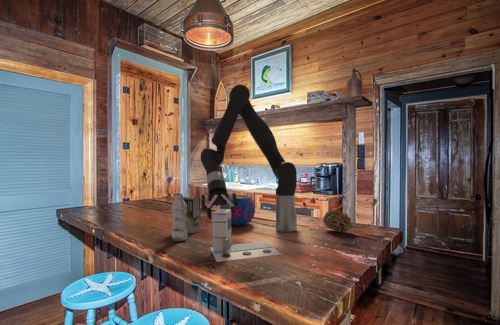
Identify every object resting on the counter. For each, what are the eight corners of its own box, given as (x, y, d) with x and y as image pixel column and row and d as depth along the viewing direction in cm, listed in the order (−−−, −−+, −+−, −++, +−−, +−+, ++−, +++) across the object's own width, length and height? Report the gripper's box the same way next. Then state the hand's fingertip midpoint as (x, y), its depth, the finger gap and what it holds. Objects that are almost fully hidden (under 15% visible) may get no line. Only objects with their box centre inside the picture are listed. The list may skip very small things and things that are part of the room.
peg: (229, 254, 92) (229, 237, 92) (230, 257, 89) (230, 239, 89) (221, 255, 91) (221, 238, 91) (223, 257, 88) (223, 240, 88)
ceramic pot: (236, 219, 151) (235, 193, 151) (261, 223, 141) (261, 195, 140) (215, 225, 137) (215, 197, 137) (242, 230, 126) (241, 199, 126)
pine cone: (319, 231, 123) (319, 210, 123) (326, 227, 131) (326, 207, 131) (370, 239, 111) (369, 216, 111) (374, 234, 119) (374, 212, 118)
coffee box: (201, 230, 128) (200, 197, 128) (193, 233, 122) (193, 199, 122) (185, 228, 131) (185, 196, 131) (177, 231, 125) (177, 198, 125)
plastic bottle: (190, 239, 113) (190, 193, 113) (181, 244, 106) (181, 195, 106) (177, 238, 115) (177, 192, 115) (168, 242, 109) (167, 194, 108)
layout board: (266, 243, 106) (266, 240, 106) (281, 256, 92) (281, 253, 92) (210, 249, 99) (210, 246, 99) (216, 264, 85) (216, 261, 85)
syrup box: (228, 251, 94) (227, 211, 94) (212, 251, 95) (212, 211, 95) (232, 246, 99) (231, 208, 99) (217, 245, 100) (216, 208, 100)
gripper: (199, 179, 104) (203, 213, 94) (234, 178, 109) (241, 210, 98) (198, 191, 110) (202, 224, 99) (231, 189, 114) (238, 221, 103)
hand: (221, 217), depth 98 cm, fingers open, 8 cm apart
